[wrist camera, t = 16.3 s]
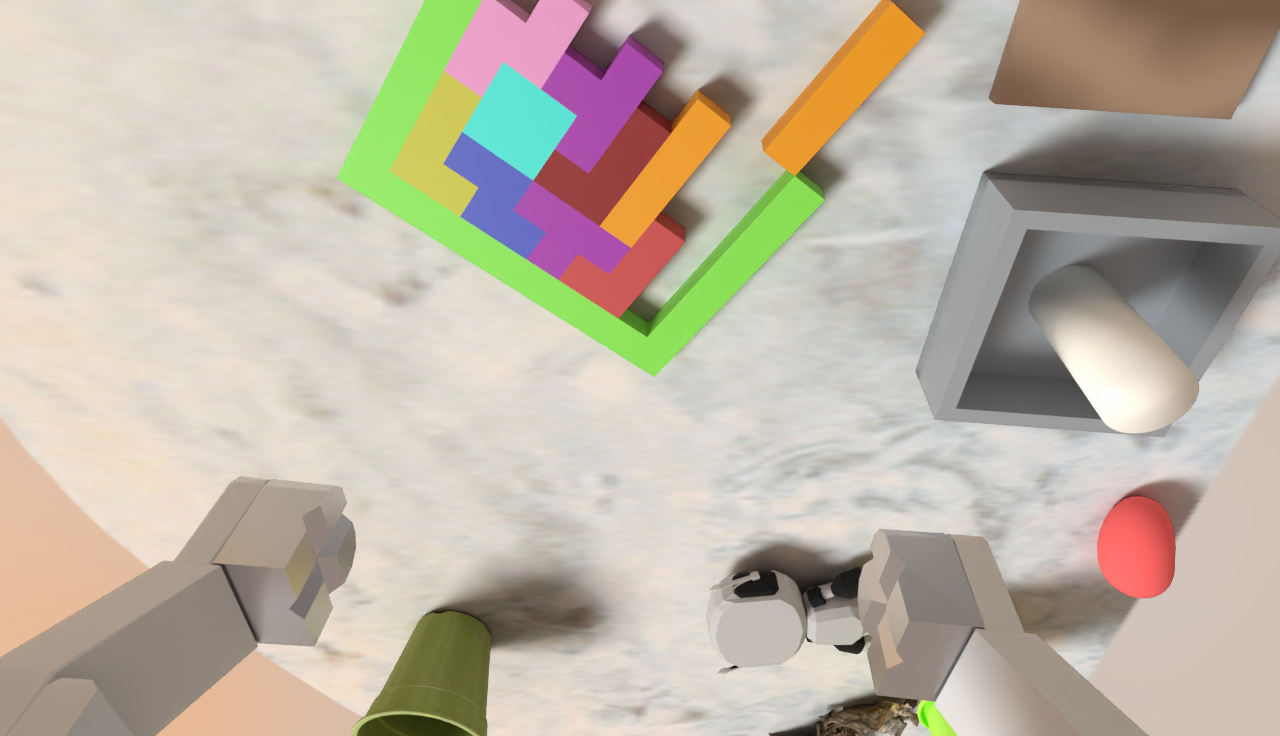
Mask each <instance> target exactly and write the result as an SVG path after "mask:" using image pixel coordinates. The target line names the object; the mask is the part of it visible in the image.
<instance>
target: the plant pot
mask: <svg viewBox="0 0 1280 736" xmlns="http://www.w3.org/2000/svg"><path fill="white" fill-rule="evenodd" d="M490 647H491V635H490V634H489V633H488V631H487V629H486V627H485V625H484V624H483V623H482V622H480V621H479V620H477V619H476V618H474V617H472V616H469V615H466V614H463V613H460V612H454V611H446V612H444V613H439V614H435V613H430V614H428V615H426V616H424V617H423V618H421V619H420V621H419V622H418V624H417V626H416V628H415V629H414V631H413V633H412V635H411V637H410V639H409V641H408V643H407V645H406V647H405V648H404V650H403V652H402V654H401V656H400V658H399V660H398V661H397V663H396V665H395V667H394V669H393V671H392V673H391V675H390V677H389V678H388V680H387V682H386V684H385V686H384V688H383V690H382V691H381V693H380V695H379V696H378V697H377V698H376V699H375V700H374V702H373V704H372V705H371V707H370V709H369V711H368V712H367V714H366V716H365V717H363V718H362V719H360V720H359V721H358V722H357V723H356V724H355V726H354V727H353V729H352V734H351V736H487V720H486V705H487V692H488V676H489V662H490Z"/></svg>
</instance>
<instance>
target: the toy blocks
mask: <svg viewBox="0 0 1280 736" xmlns="http://www.w3.org/2000/svg"><path fill="white" fill-rule="evenodd" d="M592 7H593V6H592V5H591V4H590V3H588V2H587V1H586V0H539V2H538V3H537V5H536V7H535V9H534V10H533V12H532V14H531V15H530V14H529V13H528V12H526V11H525V10H524V9H522V8H521V7H520V6H519V5H517V4H516V3H515V2H513V1H512V0H425V1H424V3H423V6H422V8H421V10H420V12H419V14H418V16H417V18H416V20H415V22H414V24H413V26H412V28H411V30H410V32H409V34H408V36H407V38H406V40H405V42H404V44H403V46H402V48H401V50H400V52H399V54H398V56H397V58H396V60H395V62H394V64H393V66H392V68H391V70H390V72H389V74H388V76H387V78H386V80H385V82H384V84H383V86H382V88H381V90H380V92H379V94H378V96H377V98H376V100H375V102H374V104H373V106H372V108H371V110H370V112H369V114H368V116H367V118H366V120H365V122H364V124H363V126H362V128H361V130H360V132H359V134H358V136H357V138H356V140H355V142H354V144H353V146H352V148H351V150H350V152H349V154H348V156H347V158H346V160H345V163H344V165H343V167H342V169H341V171H340V173H339V175H338V177H337V179H339V180H341V181H342V182H344V183H345V184H347V185H349V186H350V187H352V188H353V189H355V190H357V191H358V192H360V193H361V194H363V195H364V196H366V197H368V198H369V199H371V200H372V201H374V202H376V203H377V204H379V205H380V206H382V207H384V208H385V209H387V210H388V211H390V212H392V213H393V214H395V215H396V216H398V217H400V218H401V219H403V220H404V221H406V222H408V223H409V224H411V225H412V226H414V227H416V228H417V229H419V230H420V231H422V232H424V233H425V234H427V235H428V236H430V237H432V238H433V239H435V240H436V241H438V242H440V243H441V244H443V245H444V246H446V247H448V248H449V249H451V250H452V251H454V252H456V253H457V254H459V255H460V256H462V257H464V258H465V259H467V260H468V261H470V262H472V263H473V264H475V265H476V266H478V267H479V268H481V269H483V270H484V271H486V272H487V273H489V274H491V275H492V276H494V277H495V278H497V279H499V280H500V281H502V282H503V283H505V284H507V285H508V286H510V287H511V288H513V289H515V290H516V291H518V292H519V293H521V294H523V295H524V296H526V297H527V298H529V299H531V300H532V301H534V302H535V303H537V304H539V305H540V306H542V307H543V308H545V309H547V310H548V311H550V312H551V313H553V314H555V315H556V316H558V317H559V318H561V319H563V320H564V321H566V322H567V323H569V324H571V325H572V326H574V327H575V328H577V329H579V330H580V331H582V332H583V333H585V334H586V335H588V336H590V337H591V338H593V339H594V340H596V341H598V342H599V343H601V344H602V345H604V346H606V347H607V348H609V349H610V350H612V351H614V352H615V353H617V354H618V355H620V356H622V357H623V358H625V359H626V360H628V361H630V362H631V363H633V364H634V365H636V366H638V367H639V368H641V369H642V370H644V371H646V372H647V373H649V374H650V375H652V376H654V377H655V376H656V375H657V373H658V372H659V371H660V370H661V369H662V368H663V367H664V366H665V365H666V364H667V363H668V362H669V361H670V360H671V359H672V358H673V357H674V356H675V355H676V354H677V353H678V352H679V351H680V350H681V349H682V348H683V347H684V346H685V344H686V343H687V342H688V341H689V340H690V339H691V338H692V337H693V336H694V335H695V334H696V333H697V332H698V331H699V330H700V329H701V328H702V327H703V326H704V325H705V324H706V323H707V322H708V321H709V320H710V319H711V318H712V317H713V315H714V314H715V313H716V312H717V311H718V310H719V309H720V308H721V307H722V306H723V305H724V304H725V303H726V302H727V301H728V300H729V299H730V298H731V297H732V296H733V295H734V294H735V293H736V292H737V291H738V290H739V289H740V288H741V286H742V285H743V284H744V283H745V282H746V281H747V280H748V279H749V278H750V277H751V276H752V275H753V274H754V273H755V272H756V271H757V270H758V269H759V268H760V267H761V266H762V265H763V264H764V263H765V262H766V261H767V260H768V259H769V258H770V256H771V255H772V254H773V253H774V252H775V251H776V250H777V249H778V248H779V247H780V246H781V245H782V244H783V243H784V242H785V241H786V240H787V239H788V238H789V237H790V236H791V235H792V234H793V233H794V232H795V231H796V230H797V229H798V227H799V226H800V225H801V224H802V223H803V222H804V221H805V220H806V219H807V218H808V217H809V216H810V215H811V214H812V213H813V212H814V211H815V210H816V209H817V208H818V207H819V206H820V205H821V204H822V203H823V202H824V201H825V199H824V196H823V193H822V190H821V188H820V187H819V186H818V185H817V184H815V183H814V182H813V181H812V180H810V179H809V178H808V177H807V176H805V175H804V174H803V173H802V172H800V170H801V169H802V168H803V167H804V166H805V165H806V163H807V162H808V161H809V160H810V159H811V158H812V157H813V156H814V155H815V154H816V153H817V151H818V150H819V149H820V148H821V147H822V146H823V145H824V144H825V143H826V142H827V141H828V139H829V138H830V137H831V136H832V135H833V134H834V133H835V132H836V131H837V130H838V129H839V127H840V126H841V125H842V124H843V123H844V122H845V121H846V120H847V119H848V118H849V117H850V115H851V114H852V113H853V112H854V111H855V110H856V109H857V108H858V107H859V106H860V105H861V103H862V102H863V101H864V100H865V99H866V98H867V97H868V96H869V95H870V94H871V93H872V91H873V90H874V89H875V88H876V87H877V86H878V85H879V84H880V83H881V82H882V81H883V80H884V78H885V77H886V76H887V75H888V74H889V73H890V72H891V71H892V70H893V69H894V68H895V66H896V65H897V64H898V63H899V62H900V61H901V60H902V59H903V58H904V57H905V56H906V54H907V53H908V52H909V51H910V50H911V49H912V48H913V47H914V46H915V45H916V44H917V42H918V41H919V40H920V39H921V38H922V37H923V36H924V35H925V34H926V33H925V32H923V31H922V30H921V29H920V28H919V27H918V26H917V25H916V24H915V23H914V22H913V21H912V20H911V19H910V18H909V17H908V16H907V15H905V14H904V13H903V12H902V11H901V10H900V9H899V8H898V7H897V6H896V5H895V4H894V3H893V2H892V1H891V0H881V2H880V3H879V4H878V5H877V6H876V7H875V9H874V10H873V11H872V12H871V13H870V14H869V16H868V17H867V18H866V19H865V20H864V21H863V23H862V24H861V25H860V26H859V27H858V28H857V30H856V31H855V32H854V33H853V34H852V35H851V37H850V38H849V39H848V40H847V41H846V42H845V44H844V45H843V46H842V47H841V48H840V49H839V51H838V52H837V53H836V54H835V55H834V56H833V58H832V59H831V60H830V61H829V62H828V63H827V65H826V66H825V67H824V68H823V69H822V70H821V72H820V73H819V74H818V75H817V76H816V77H815V79H814V80H813V81H812V82H811V83H810V84H809V86H808V87H807V88H806V89H805V90H804V91H803V93H802V94H801V95H800V96H799V97H798V98H797V99H796V101H795V102H794V103H793V104H792V105H791V106H790V108H789V109H788V110H787V111H786V112H785V113H784V115H783V116H782V117H781V118H780V119H779V120H778V122H777V123H776V124H775V125H774V126H773V127H772V129H771V130H770V131H769V132H768V133H767V134H766V136H765V137H764V138H763V139H762V140H761V141H762V146H763V151H764V152H765V153H766V154H767V155H769V156H770V157H771V158H773V159H774V160H775V161H776V162H778V163H779V164H780V165H781V166H783V167H784V168H785V169H786V171H785V172H784V173H783V175H782V176H781V177H780V178H779V179H778V180H777V181H776V182H775V183H774V185H773V186H772V187H771V188H770V189H769V190H768V191H767V192H766V193H765V194H764V196H763V197H762V198H761V199H760V200H759V201H758V202H757V203H756V204H755V206H754V207H753V208H752V209H751V210H750V211H749V212H748V213H747V214H746V215H745V217H744V218H743V219H742V220H741V221H740V222H739V223H738V224H737V225H736V227H735V228H734V229H733V230H732V231H731V232H730V233H729V234H728V235H727V236H726V238H725V239H724V240H723V241H722V242H721V243H720V244H719V245H718V246H717V248H716V249H715V250H714V251H713V252H712V253H711V254H710V255H709V256H708V258H707V259H706V260H705V261H704V262H703V263H702V264H701V265H700V266H699V267H698V269H697V270H696V271H695V272H694V273H693V274H692V275H691V276H690V277H689V279H688V280H687V281H686V282H685V283H684V284H683V285H682V286H681V287H680V288H679V290H678V291H677V292H676V293H675V294H674V295H673V296H672V297H671V298H670V300H669V301H668V302H667V303H666V304H665V305H664V306H663V307H662V308H661V309H660V311H659V312H658V313H657V314H656V315H655V316H654V317H653V318H652V319H651V321H650V322H649V323H648V322H647V321H645V320H644V319H642V318H641V317H639V316H638V315H636V314H635V313H633V312H631V311H630V310H628V309H627V308H628V307H629V306H630V305H631V304H632V302H633V301H634V300H635V299H636V298H637V297H638V296H639V294H640V293H641V292H642V291H643V290H644V289H645V287H646V286H647V285H648V284H649V283H650V282H651V281H652V279H653V278H654V277H655V276H656V275H657V274H658V273H659V271H660V270H661V269H662V268H663V267H664V266H665V264H666V263H667V262H668V261H669V260H670V259H671V258H672V256H673V255H674V254H675V253H676V252H677V251H678V249H679V248H680V247H681V246H682V245H683V244H684V243H685V228H684V227H682V226H681V225H679V224H678V223H677V222H675V221H674V220H672V219H671V218H670V217H668V216H667V215H665V214H664V213H663V212H661V211H662V210H663V208H664V207H665V206H666V205H667V204H668V202H669V201H670V200H671V199H672V197H673V196H674V195H675V194H676V193H677V191H678V190H679V189H680V188H681V186H682V185H683V184H684V183H685V182H686V180H687V179H688V178H689V177H690V176H691V174H692V173H693V172H694V171H695V169H696V168H697V167H698V166H699V165H700V163H701V162H702V161H703V160H704V158H705V157H706V156H707V155H708V154H709V152H710V151H711V150H712V149H713V147H714V146H715V145H716V144H717V143H718V141H719V140H720V139H721V138H722V137H723V135H724V134H725V133H726V132H727V130H728V129H729V128H730V127H731V119H730V115H729V114H728V113H726V112H725V111H724V110H723V109H721V108H720V107H719V106H718V105H716V104H715V103H714V102H713V101H711V100H710V99H709V98H708V97H706V96H705V95H704V94H703V93H701V92H700V91H699V90H697V91H696V92H695V94H694V95H693V96H692V98H691V99H690V100H689V102H688V103H687V104H686V106H685V107H684V108H683V109H682V111H681V112H680V113H679V115H678V116H677V117H676V119H675V120H674V121H673V122H672V123H671V122H670V121H668V120H667V119H666V118H664V117H663V116H662V115H660V114H659V113H658V112H657V111H655V110H654V109H653V108H651V107H650V106H649V105H647V104H646V103H645V102H644V101H642V100H643V98H644V97H645V96H646V94H647V93H648V91H649V90H650V89H651V87H652V86H653V85H654V83H655V82H656V80H657V79H658V78H659V76H660V75H661V74H662V72H663V67H664V62H662V61H661V60H660V59H659V58H657V57H656V56H655V55H654V54H652V53H651V52H650V51H649V50H647V49H646V48H645V47H644V46H642V45H641V44H640V43H639V42H637V41H636V40H635V39H634V38H632V37H631V36H630V35H629V36H628V38H627V39H626V41H625V42H624V44H623V45H622V47H621V48H620V49H619V51H618V52H617V54H616V55H615V57H614V58H613V60H612V61H611V63H610V64H609V66H608V67H607V69H606V70H605V72H604V71H603V70H602V69H601V68H599V67H598V66H597V65H595V64H594V63H593V62H591V61H590V60H589V59H588V58H586V57H585V56H584V55H582V54H581V53H580V52H578V51H577V50H576V49H575V48H573V47H572V46H571V45H569V44H570V43H571V41H572V39H573V38H574V36H575V35H576V33H577V31H578V30H579V28H580V27H581V25H582V24H583V22H584V20H585V19H586V17H587V16H588V14H589V12H590V11H591V9H592Z"/></svg>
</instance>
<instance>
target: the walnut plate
mask: <svg viewBox="0 0 1280 736" xmlns="http://www.w3.org/2000/svg"><path fill="white" fill-rule="evenodd" d="M1279 27H1280V0H1020V3H1019V6H1018V9H1017V12H1016V15H1015V19H1014V22H1013V25H1012V28H1011V31H1010V34H1009V37H1008V40H1007V43H1006V46H1005V49H1004V53H1003V56H1002V59H1001V62H1000V65H999V68H998V71H997V74H996V77H995V80H994V83H993V87H992V90H991V93H990V96H989V99H990V100H991V101H992V102H993V103H994V104H1004V105H1019V106H1035V107H1050V108H1065V109H1081V110H1096V111H1111V112H1127V113H1142V114H1157V115H1173V116H1188V117H1203V118H1219V119H1231V118H1232V116H1233V114H1234V112H1235V110H1236V108H1237V106H1238V105H1239V103H1240V101H1241V99H1242V97H1243V95H1244V93H1245V91H1246V89H1247V87H1248V86H1249V84H1250V82H1251V80H1252V78H1253V76H1254V74H1255V72H1256V70H1257V68H1258V67H1259V65H1260V63H1261V61H1262V59H1263V57H1264V55H1265V53H1266V51H1267V49H1268V48H1269V46H1270V44H1271V42H1272V40H1273V38H1274V36H1275V34H1276V32H1277V30H1278V29H1279Z"/></svg>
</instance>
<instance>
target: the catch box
mask: <svg viewBox="0 0 1280 736" xmlns="http://www.w3.org/2000/svg"><path fill="white" fill-rule="evenodd" d="M1279 255H1280V218H1279V217H1277V216H1276V215H1274V214H1273V213H1271V212H1270V211H1268V210H1267V209H1265V208H1264V207H1263V206H1261V205H1260V204H1258V203H1257V202H1255V201H1254V200H1252V199H1251V198H1249V197H1248V196H1246V195H1245V194H1243V193H1242V192H1240V191H1239V190H1237V189H1225V188H1210V187H1195V186H1180V185H1165V184H1151V183H1136V182H1121V181H1106V180H1091V179H1077V178H1062V177H1047V176H1032V175H1017V174H1003V173H988V172H983V174H982V177H981V180H980V183H979V186H978V189H977V192H976V195H975V198H974V201H973V204H972V207H971V209H970V212H969V215H968V218H967V221H966V224H965V227H964V230H963V233H962V236H961V239H960V242H959V245H958V248H957V251H956V254H955V257H954V260H953V263H952V265H951V268H950V271H949V274H948V277H947V280H946V283H945V286H944V289H943V292H942V295H941V298H940V301H939V304H938V307H937V310H936V313H935V316H934V319H933V321H932V324H931V327H930V330H929V333H928V336H927V339H926V342H925V345H924V348H923V351H922V354H921V357H920V360H919V363H918V366H917V369H916V374H917V376H918V379H919V381H920V384H921V386H922V389H923V391H924V394H925V396H926V399H927V401H928V404H929V407H930V409H931V412H932V414H933V417H934V419H935V420H945V421H958V422H971V423H985V424H998V425H1011V426H1024V427H1037V428H1051V429H1064V430H1077V431H1090V432H1103V433H1117V434H1130V435H1143V436H1156V437H1164V436H1165V434H1166V433H1167V431H1168V430H1169V428H1170V426H1171V425H1172V423H1171V424H1169V425H1167V426H1165V427H1163V428H1160V429H1157V430H1154V431H1150V432H1146V433H1135V434H1133V433H1123V432H1119V431H1116V430H1114V429H1112V428H1110V427H1108V426H1107V425H1106V424H1105V423H1104V422H1103V420H1102V419H1101V417H1100V416H1099V414H1098V413H1097V411H1096V410H1095V409H1094V407H1093V406H1092V404H1091V403H1090V401H1089V400H1088V398H1087V397H1086V395H1085V394H1084V392H1083V391H1082V389H1081V388H1080V387H1079V385H1078V384H1077V382H1076V381H1075V379H1074V378H1073V376H1072V375H1071V373H1070V372H1069V370H1068V369H1067V367H1066V366H1065V365H1064V363H1063V362H1062V360H1061V359H1060V357H1059V356H1058V354H1057V353H1056V351H1055V350H1054V348H1053V347H1052V345H1051V344H1050V343H1049V341H1048V340H1047V338H1046V337H1045V335H1044V334H1043V332H1042V331H1041V329H1040V328H1039V326H1038V325H1037V324H1036V322H1035V321H1034V319H1033V318H1032V316H1031V314H1030V312H1029V307H1028V302H1029V297H1030V294H1031V292H1032V290H1033V289H1034V287H1035V286H1036V285H1037V283H1038V282H1039V281H1040V280H1041V279H1042V278H1044V277H1045V276H1046V275H1048V274H1049V273H1051V272H1053V271H1055V270H1057V269H1059V268H1062V267H1065V266H1069V265H1088V266H1091V267H1094V268H1096V269H1098V270H1099V271H1100V272H1101V273H1102V274H1103V275H1104V276H1105V277H1106V278H1107V279H1108V280H1109V281H1110V282H1111V284H1112V285H1113V286H1114V287H1115V288H1116V289H1117V290H1118V291H1119V292H1120V293H1121V294H1122V296H1123V297H1124V298H1125V299H1126V300H1127V301H1128V302H1129V303H1130V304H1131V305H1132V307H1133V308H1134V309H1135V310H1136V311H1137V312H1138V313H1139V314H1140V315H1141V316H1142V317H1143V319H1144V320H1145V321H1146V322H1147V323H1148V324H1149V325H1150V326H1151V327H1152V328H1153V330H1154V331H1155V332H1156V333H1157V334H1158V335H1159V336H1160V337H1161V338H1162V339H1163V341H1164V342H1165V343H1166V344H1167V345H1168V346H1169V347H1170V348H1171V349H1172V350H1173V351H1174V353H1175V354H1176V355H1177V356H1178V357H1179V358H1180V359H1181V360H1182V361H1183V362H1184V364H1185V365H1186V366H1187V367H1188V368H1189V369H1190V370H1191V371H1192V372H1193V373H1194V375H1195V376H1196V377H1197V380H1198V382H1199V381H1200V379H1201V378H1202V376H1203V375H1204V373H1205V371H1206V370H1207V368H1208V367H1209V365H1210V364H1211V362H1212V360H1213V359H1214V357H1215V356H1216V354H1217V353H1218V351H1219V349H1220V348H1221V346H1222V345H1223V343H1224V342H1225V340H1226V338H1227V337H1228V335H1229V334H1230V332H1231V331H1232V329H1233V327H1234V326H1235V324H1236V323H1237V321H1238V320H1239V318H1240V316H1241V315H1242V313H1243V312H1244V310H1245V309H1246V307H1247V305H1248V304H1249V302H1250V301H1251V299H1252V298H1253V296H1254V294H1255V293H1256V291H1257V290H1258V288H1259V287H1260V285H1261V283H1262V282H1263V280H1264V279H1265V277H1266V276H1267V274H1268V272H1269V271H1270V269H1271V268H1272V266H1273V265H1274V263H1275V261H1276V260H1277V258H1278V257H1279Z"/></svg>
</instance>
